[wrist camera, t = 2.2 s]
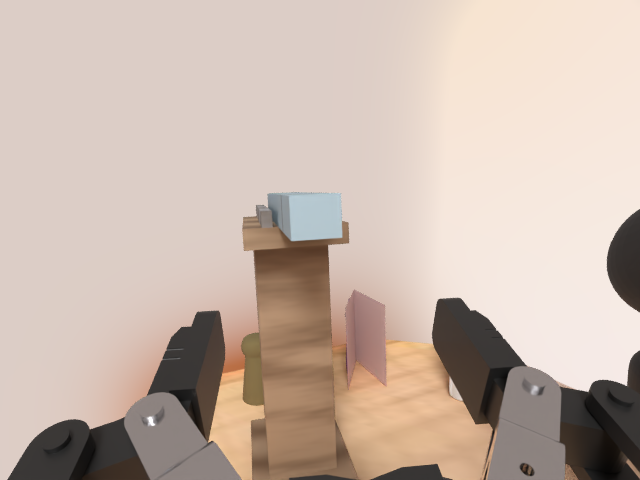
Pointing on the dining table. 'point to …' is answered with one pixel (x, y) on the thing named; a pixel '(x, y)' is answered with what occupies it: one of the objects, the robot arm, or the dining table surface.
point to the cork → (252, 370)
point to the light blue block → (307, 215)
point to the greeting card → (365, 335)
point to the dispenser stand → (294, 355)
